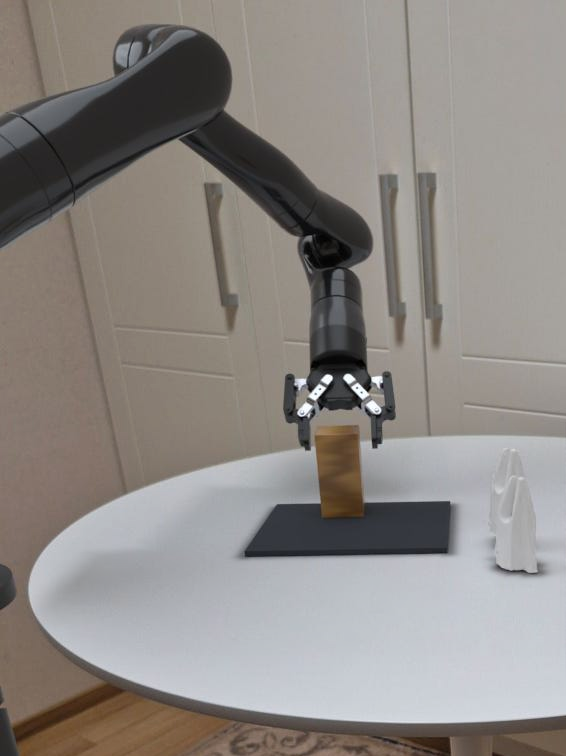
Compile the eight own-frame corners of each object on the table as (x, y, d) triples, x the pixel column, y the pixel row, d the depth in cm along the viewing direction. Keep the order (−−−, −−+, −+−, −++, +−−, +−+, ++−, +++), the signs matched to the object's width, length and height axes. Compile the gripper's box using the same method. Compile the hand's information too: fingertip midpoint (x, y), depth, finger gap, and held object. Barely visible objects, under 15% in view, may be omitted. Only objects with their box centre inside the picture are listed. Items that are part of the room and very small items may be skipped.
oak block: (322, 518, 106) (314, 435, 102) (324, 506, 111) (317, 426, 107) (363, 516, 107) (357, 433, 103) (364, 505, 111) (359, 424, 107)
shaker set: (487, 537, 101) (486, 440, 96) (524, 536, 101) (524, 439, 96) (498, 575, 90) (497, 467, 85) (539, 573, 90) (540, 465, 86)
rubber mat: (244, 556, 96) (244, 551, 96) (277, 508, 113) (276, 503, 112) (447, 552, 96) (447, 547, 96) (450, 505, 113) (450, 500, 113)
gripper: (279, 323, 114) (280, 431, 109) (390, 321, 115) (396, 427, 110) (287, 361, 121) (288, 464, 116) (392, 358, 122) (398, 460, 117)
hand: (341, 446), depth 113 cm, fingers open, 8 cm apart
